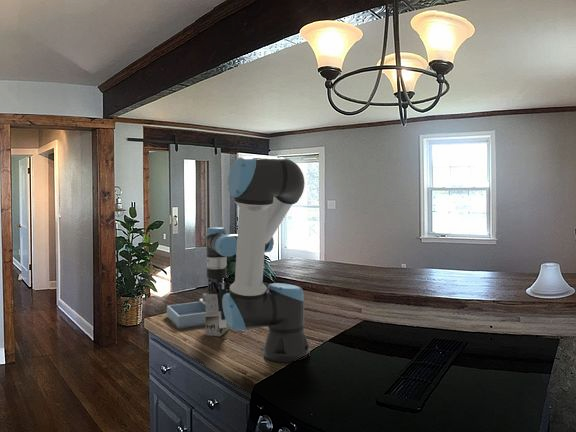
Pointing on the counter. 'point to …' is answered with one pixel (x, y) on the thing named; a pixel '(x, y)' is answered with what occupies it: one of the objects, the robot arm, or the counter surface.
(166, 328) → the counter surface
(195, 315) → the blue tray
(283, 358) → the robot arm
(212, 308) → the coffee box
